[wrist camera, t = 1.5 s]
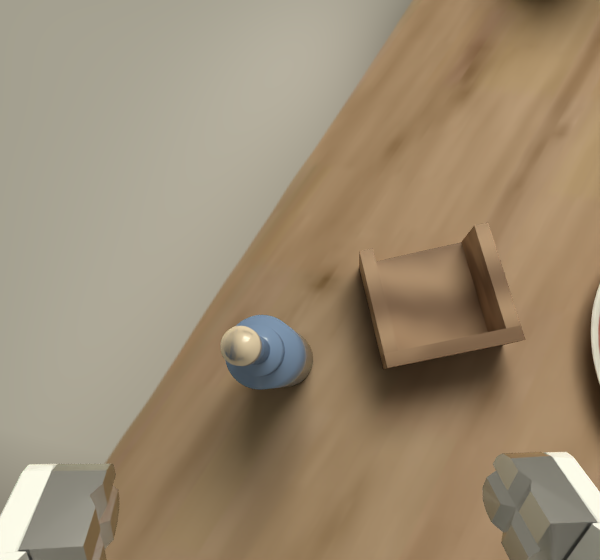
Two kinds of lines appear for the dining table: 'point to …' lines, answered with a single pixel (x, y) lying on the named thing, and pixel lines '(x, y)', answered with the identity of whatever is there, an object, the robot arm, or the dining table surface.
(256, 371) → the bottle
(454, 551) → the dining table surface
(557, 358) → the dining table surface
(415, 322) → the holder
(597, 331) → the dinner plate
